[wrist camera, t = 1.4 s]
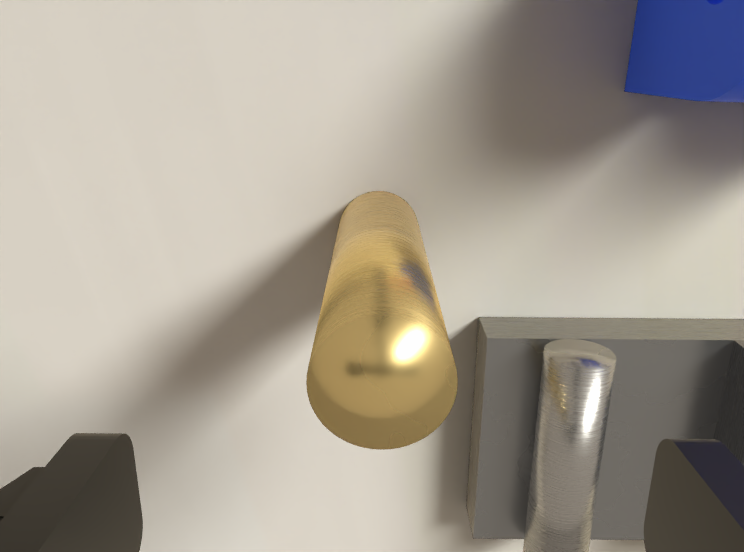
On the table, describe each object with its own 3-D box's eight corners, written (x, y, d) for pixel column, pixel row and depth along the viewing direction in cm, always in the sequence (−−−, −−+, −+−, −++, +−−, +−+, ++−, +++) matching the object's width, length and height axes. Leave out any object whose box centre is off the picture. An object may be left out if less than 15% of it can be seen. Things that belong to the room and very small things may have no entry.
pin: (338, 190, 23) (304, 313, 12) (419, 191, 23) (461, 315, 12) (339, 267, 24) (308, 448, 13) (417, 268, 24) (453, 450, 13)
